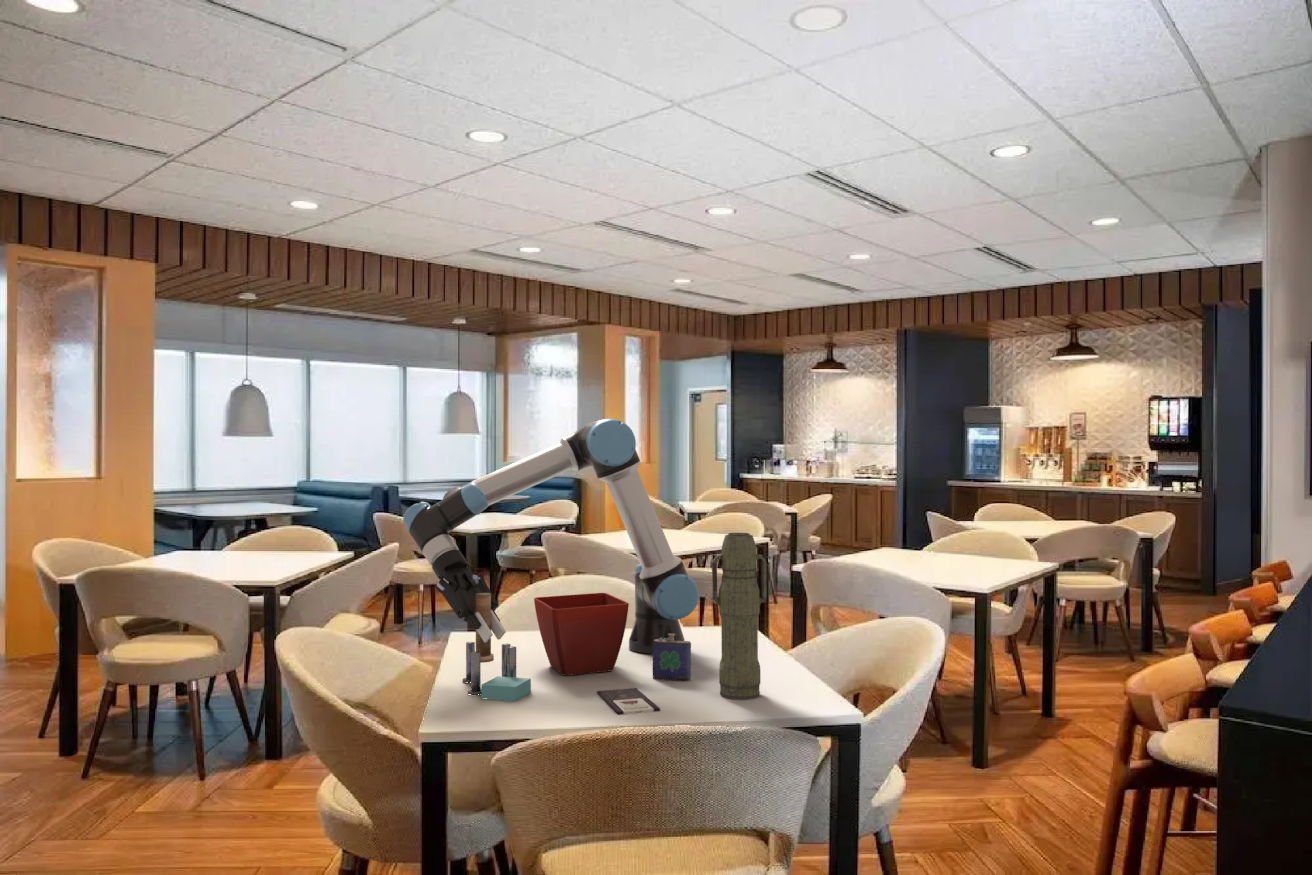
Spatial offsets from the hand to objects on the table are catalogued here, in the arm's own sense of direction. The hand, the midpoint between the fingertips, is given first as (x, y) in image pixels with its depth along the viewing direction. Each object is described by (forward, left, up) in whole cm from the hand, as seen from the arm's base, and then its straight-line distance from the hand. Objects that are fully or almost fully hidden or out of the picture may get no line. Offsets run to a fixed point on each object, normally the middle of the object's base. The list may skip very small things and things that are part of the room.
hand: (495, 636), depth 213 cm
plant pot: (-12, -24, -12) cm, 29 cm away
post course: (+3, 0, -12) cm, 12 cm away
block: (-5, +5, -12) cm, 13 cm away
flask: (-36, -19, -12) cm, 42 cm away
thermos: (-54, -9, -12) cm, 56 cm away
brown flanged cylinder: (+4, -1, -6) cm, 7 cm away
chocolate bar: (-32, +3, -12) cm, 34 cm away
